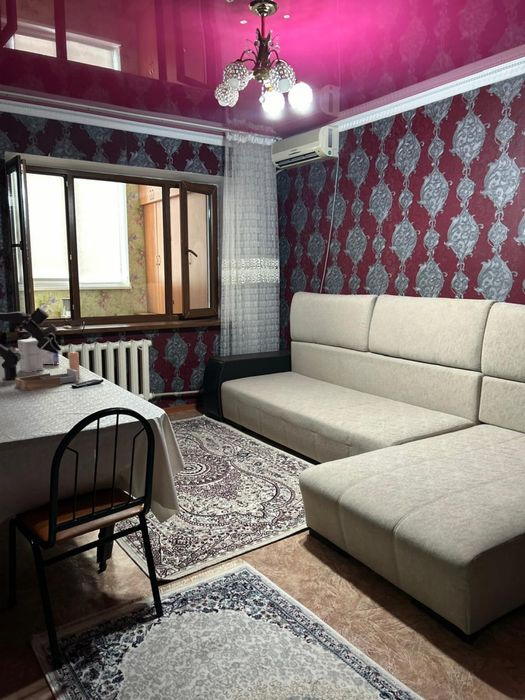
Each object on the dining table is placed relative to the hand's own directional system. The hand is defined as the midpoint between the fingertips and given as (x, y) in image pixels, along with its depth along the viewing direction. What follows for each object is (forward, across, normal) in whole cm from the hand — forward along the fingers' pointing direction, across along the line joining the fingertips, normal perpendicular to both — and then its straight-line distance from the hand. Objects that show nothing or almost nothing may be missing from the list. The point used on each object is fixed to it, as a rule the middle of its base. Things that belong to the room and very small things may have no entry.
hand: (59, 351), depth 280 cm
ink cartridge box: (+1, +36, +18) cm, 41 cm away
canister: (+14, 0, +4) cm, 15 cm away
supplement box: (-3, +20, +22) cm, 31 cm away
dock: (+4, -19, +14) cm, 24 cm away
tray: (+10, -14, +9) cm, 19 cm away
